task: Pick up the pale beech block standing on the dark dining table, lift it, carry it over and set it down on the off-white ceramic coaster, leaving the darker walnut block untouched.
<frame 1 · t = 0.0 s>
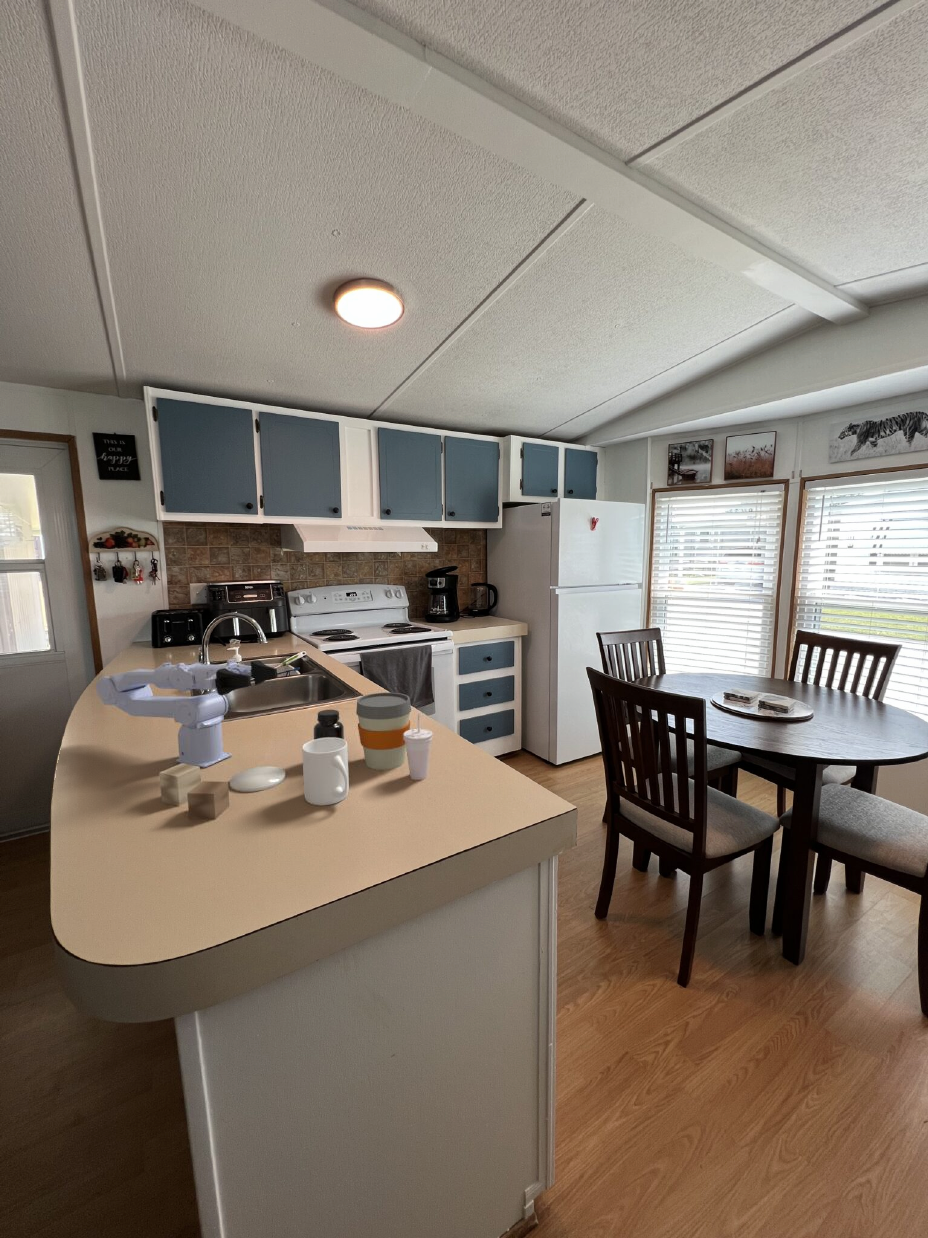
hand: (263, 677, 111), 22 cm above the worktop, tool horizontal, fingers open, 7 cm apart
walnut block: (209, 812, 96), on the worktop
beech block: (182, 798, 102), on the worktop
reusable coffee cup: (385, 762, 119), on the worktop
mug: (331, 800, 101), on the worktop
supplement bottle: (329, 762, 120), on the worktop
smoothie: (418, 777, 111), on the worktop
coaster: (258, 780, 110), on the worktop
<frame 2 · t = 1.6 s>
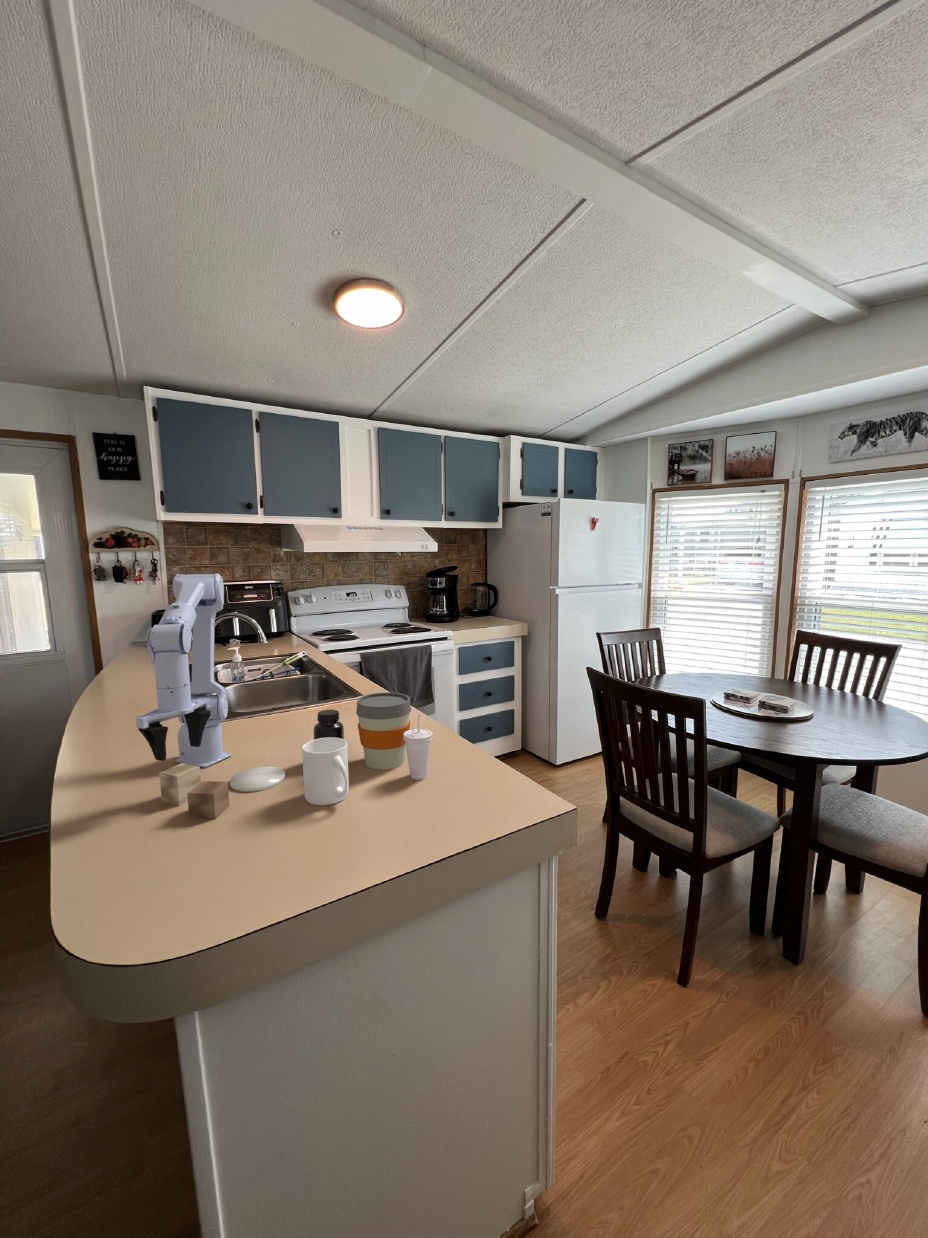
hand: (178, 752, 101), 9 cm above the worktop, tool pointing down, fingers open, 7 cm apart
nothing on the worktop moved.
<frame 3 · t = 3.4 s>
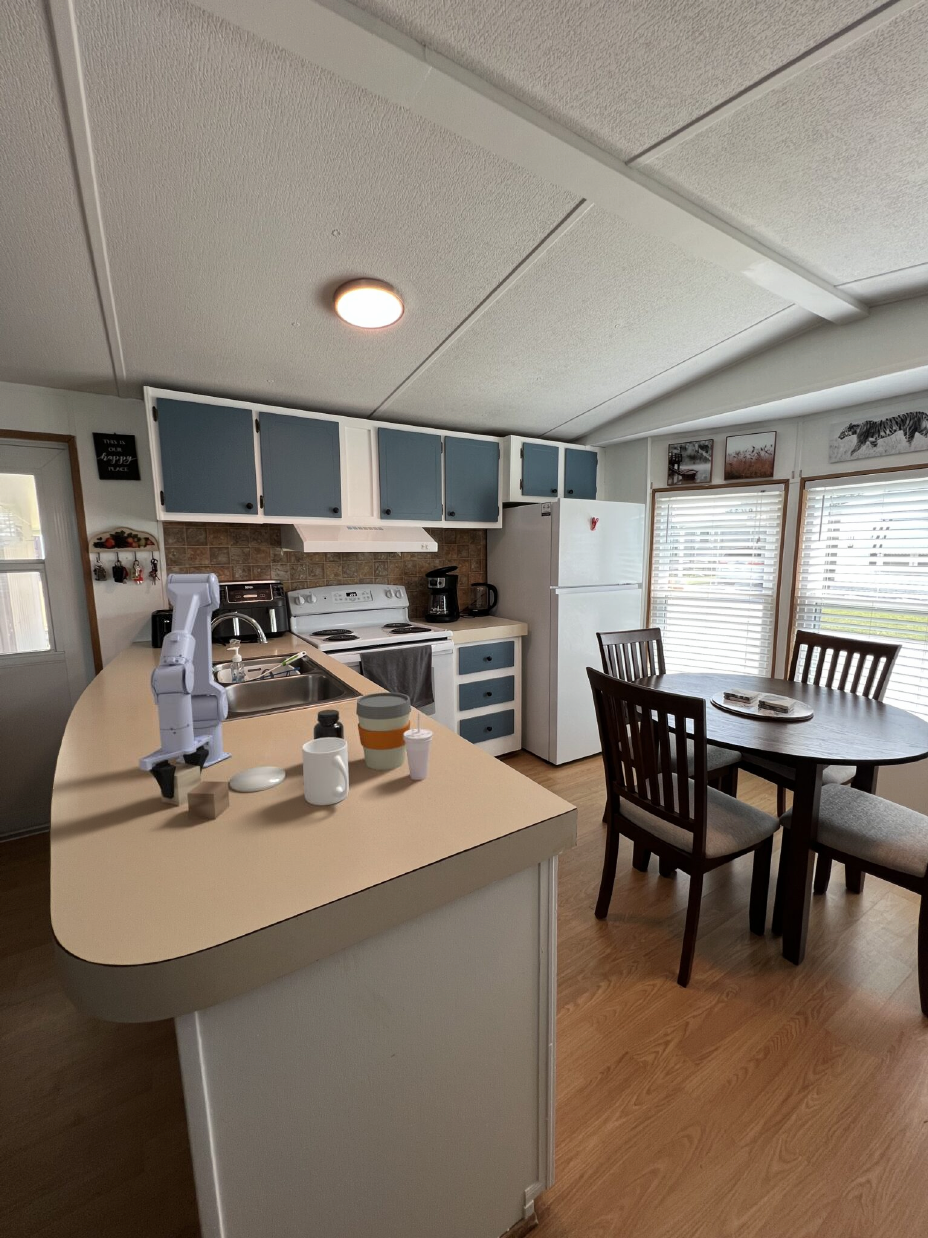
hand: (181, 791, 102), 1 cm above the worktop, tool pointing down, fingers closed on beech block, 5 cm apart
beech block: (182, 798, 102), on the worktop, touching gripper
everything else where it was.
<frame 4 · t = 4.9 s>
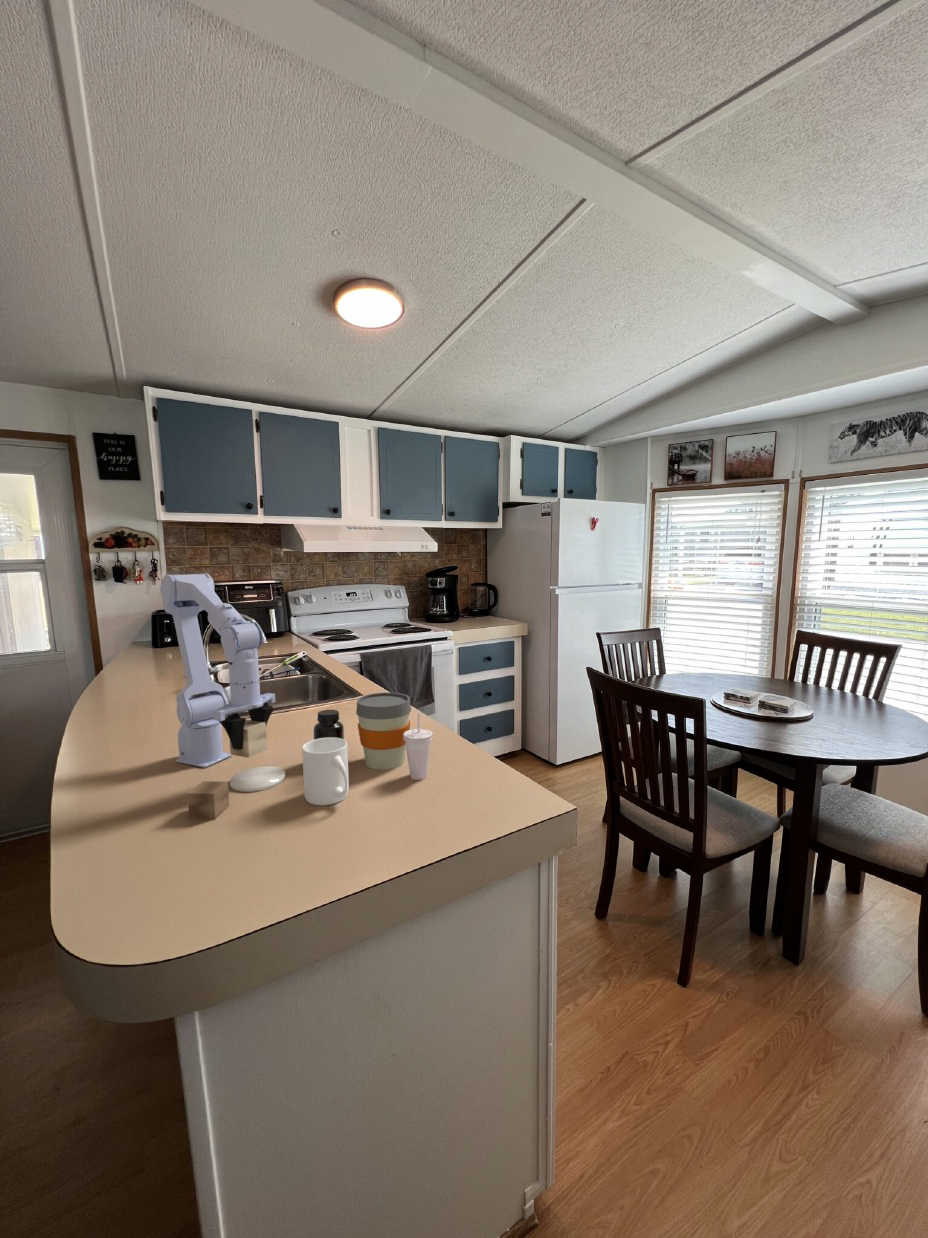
hand: (248, 744, 108), 8 cm above the worktop, tool pointing down, fingers closed on beech block, 5 cm apart
beech block: (248, 752, 108), point 7 cm above the worktop, touching gripper
everything else where it was.
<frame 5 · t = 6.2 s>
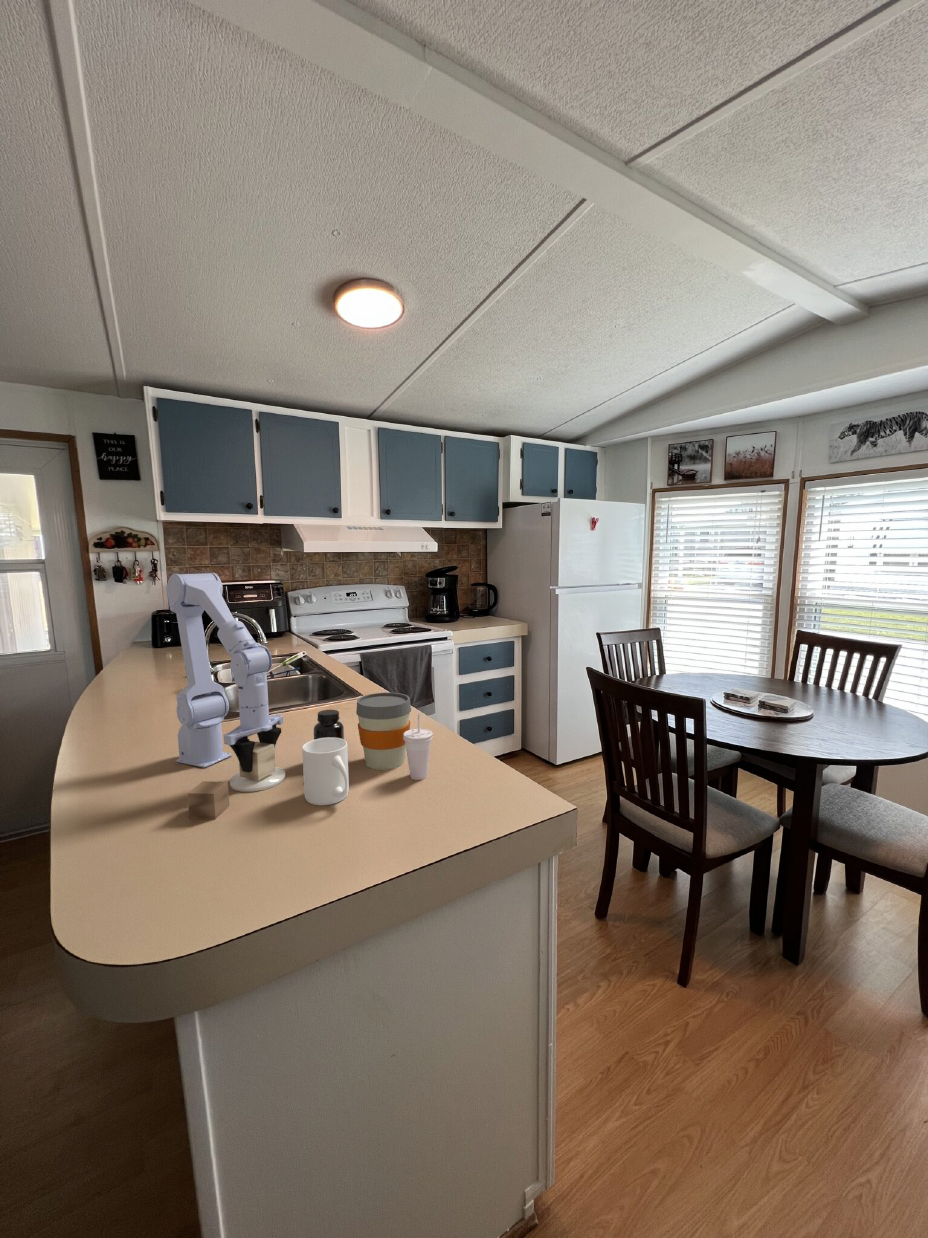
hand: (257, 766, 109), 3 cm above the worktop, tool pointing down, fingers closed on beech block, 5 cm apart
beech block: (257, 773, 110), point 1 cm above the worktop, touching gripper
everything else where it was.
when the fingers open (3 cm above the worktop, at t = 6.9 s): beech block stays where it is, resting on coaster.
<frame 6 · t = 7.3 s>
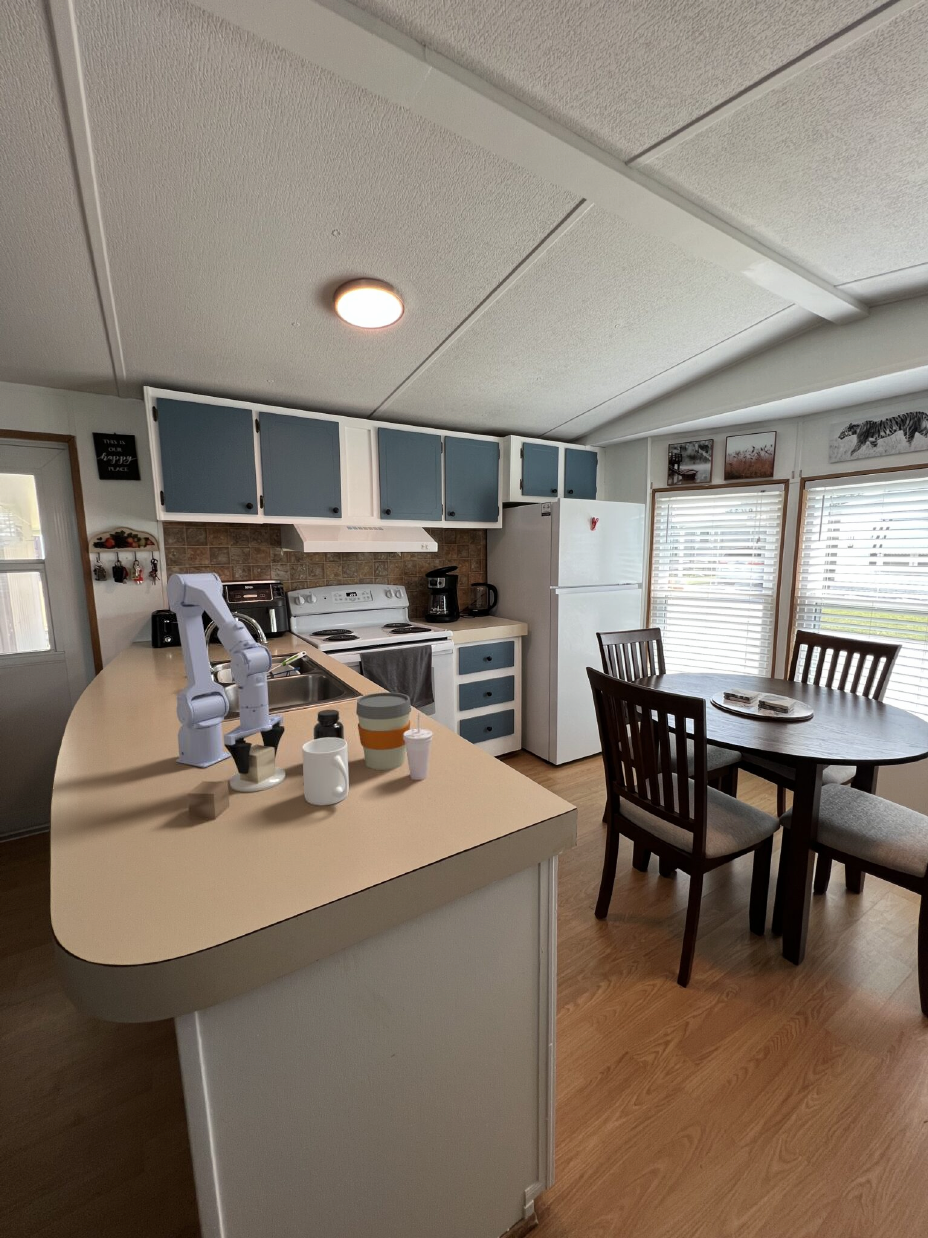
hand: (257, 766, 109), 3 cm above the worktop, tool pointing down, fingers open, 7 cm apart
beech block: (258, 776, 110), point 1 cm above the worktop, touching coaster
everything else where it was.
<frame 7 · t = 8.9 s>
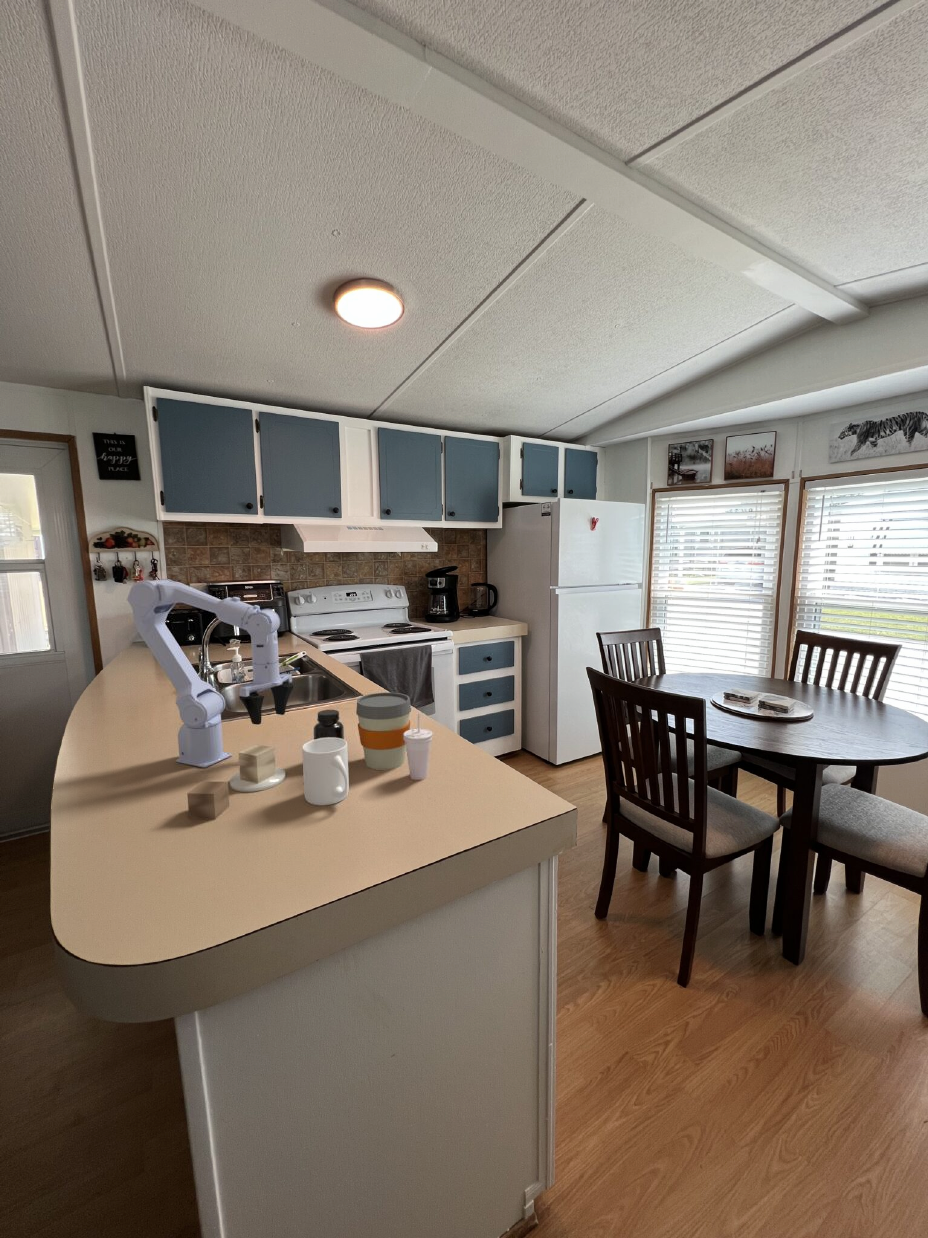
hand: (268, 718, 120), 10 cm above the worktop, tool pointing down, fingers open, 7 cm apart
nothing on the worktop moved.
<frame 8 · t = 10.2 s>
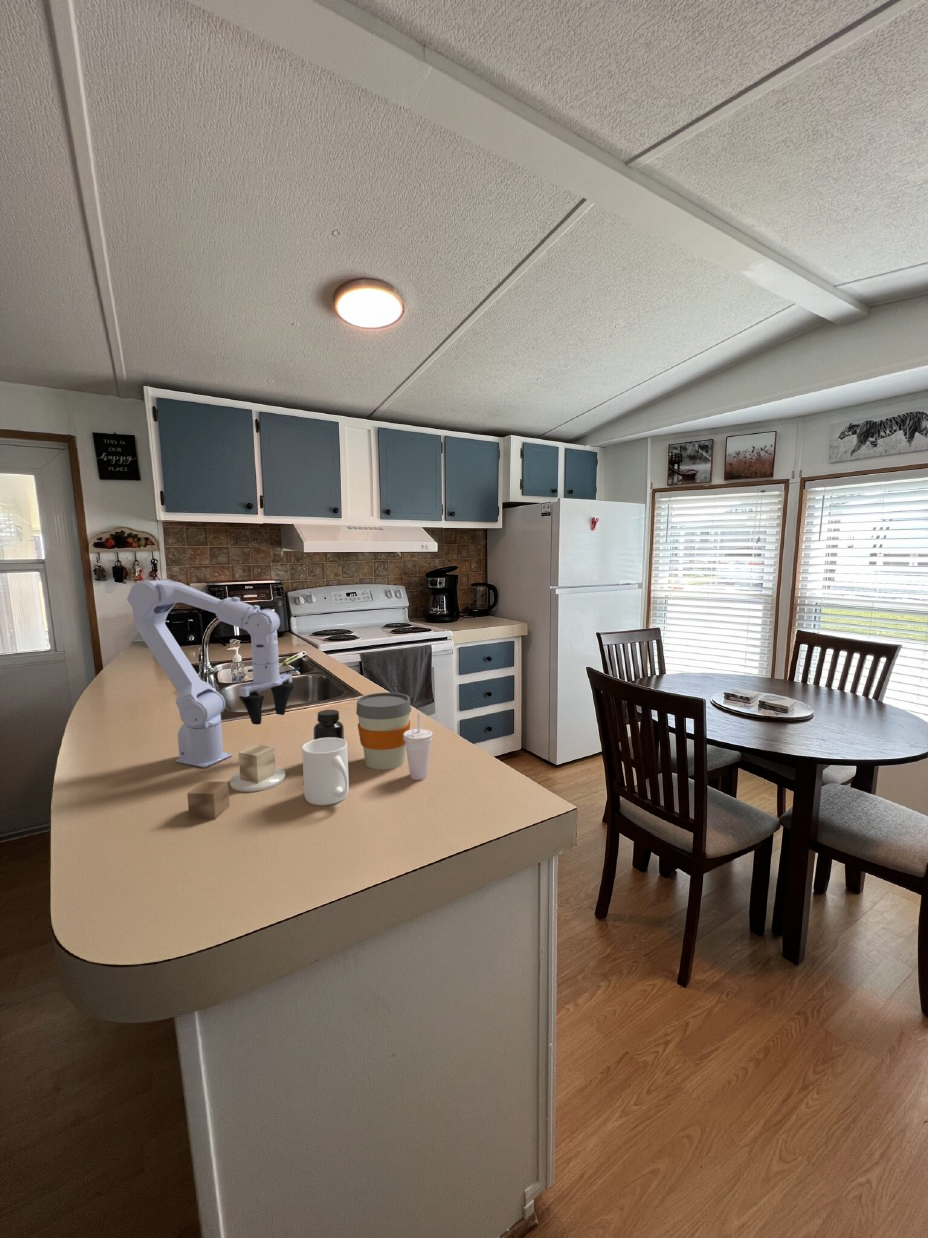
hand: (268, 718, 120), 10 cm above the worktop, tool pointing down, fingers open, 7 cm apart
nothing on the worktop moved.
at the end: beech block inside the target area on the coaster (0.0 cm from its centre), point 0.8 cm above the coaster's base; beech block tilted 0°; the gripper is holding nothing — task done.
